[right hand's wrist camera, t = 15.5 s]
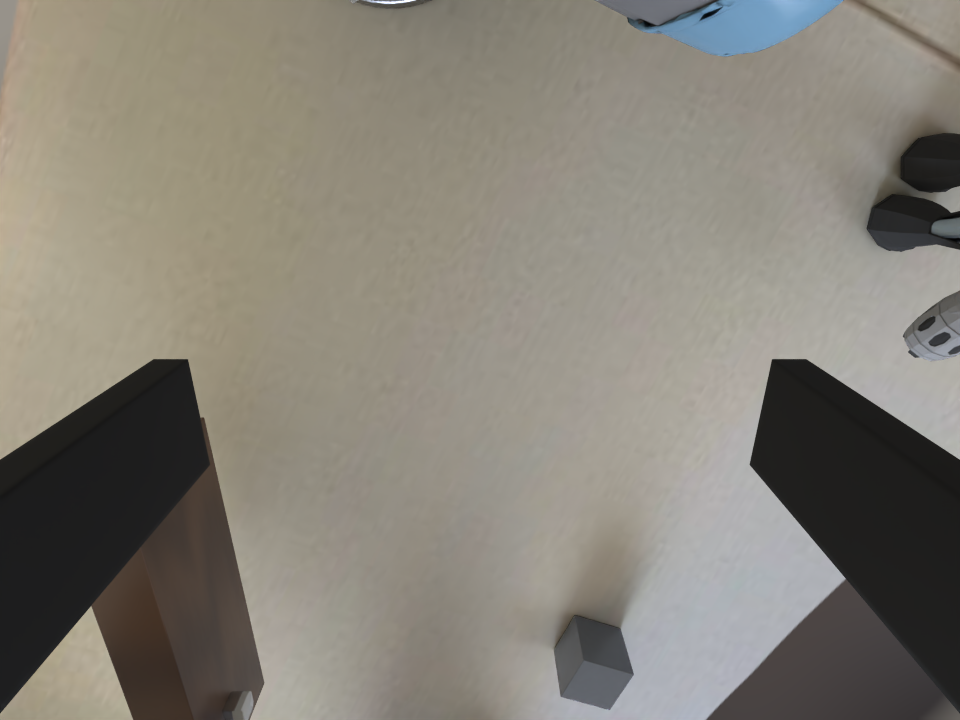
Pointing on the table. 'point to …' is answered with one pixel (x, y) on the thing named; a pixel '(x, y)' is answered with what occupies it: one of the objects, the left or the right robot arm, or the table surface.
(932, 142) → the robot
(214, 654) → the plank
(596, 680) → the grey cube
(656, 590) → the table surface
